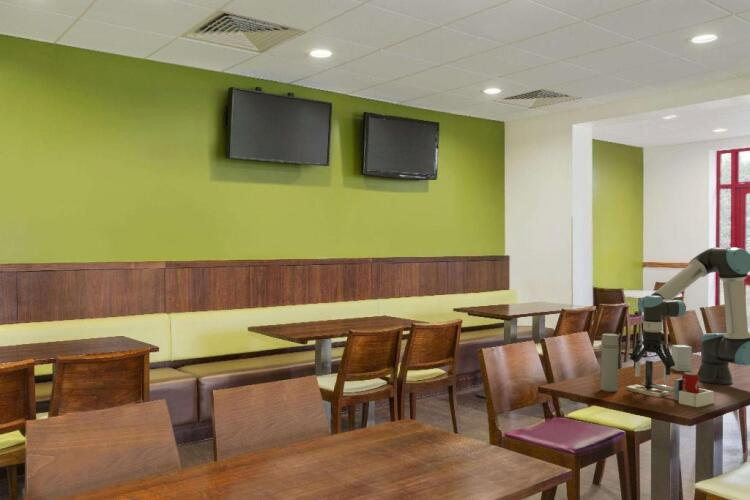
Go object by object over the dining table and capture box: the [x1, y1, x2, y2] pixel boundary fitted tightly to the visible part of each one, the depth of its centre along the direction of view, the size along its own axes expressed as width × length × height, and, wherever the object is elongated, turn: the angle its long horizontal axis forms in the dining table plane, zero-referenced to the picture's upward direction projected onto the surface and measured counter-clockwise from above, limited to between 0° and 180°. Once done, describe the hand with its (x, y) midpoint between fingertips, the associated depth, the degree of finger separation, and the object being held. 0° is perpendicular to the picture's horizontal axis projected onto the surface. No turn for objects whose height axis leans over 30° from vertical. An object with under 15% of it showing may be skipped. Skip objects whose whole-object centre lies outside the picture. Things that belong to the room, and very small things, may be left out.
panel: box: [625, 384, 670, 398], centre depth 287 cm, size 8×16×2 cm, turn 34°
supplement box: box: [671, 344, 692, 372], centre depth 339 cm, size 7×7×13 cm
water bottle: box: [595, 333, 619, 393], centre depth 290 cm, size 9×8×25 cm
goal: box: [678, 387, 715, 408], centre depth 269 cm, size 12×8×5 cm, turn 124°
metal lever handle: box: [641, 360, 682, 400], centre depth 281 cm, size 18×7×13 cm, turn 34°
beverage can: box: [681, 371, 700, 394], centre depth 271 cm, size 6×6×12 cm
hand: (651, 379), depth 286 cm, fingers open, 13 cm apart
